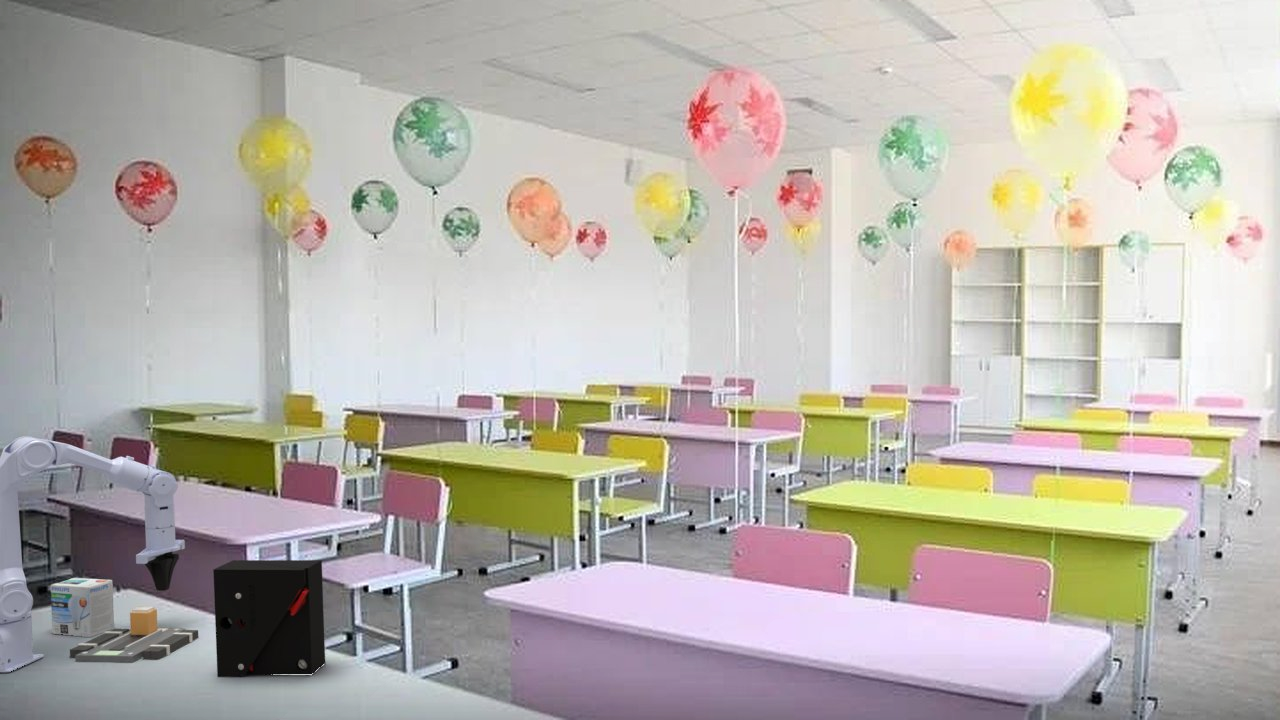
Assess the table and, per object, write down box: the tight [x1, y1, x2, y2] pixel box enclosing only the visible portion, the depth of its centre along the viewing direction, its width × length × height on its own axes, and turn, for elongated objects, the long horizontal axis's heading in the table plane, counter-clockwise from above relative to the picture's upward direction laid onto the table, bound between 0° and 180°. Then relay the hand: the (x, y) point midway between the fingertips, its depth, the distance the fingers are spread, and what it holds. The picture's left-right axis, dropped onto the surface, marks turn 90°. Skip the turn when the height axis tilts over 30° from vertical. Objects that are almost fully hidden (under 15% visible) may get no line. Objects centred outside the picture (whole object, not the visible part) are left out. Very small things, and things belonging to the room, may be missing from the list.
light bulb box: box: [50, 577, 115, 638], centre depth 221 cm, size 11×7×11 cm, turn 73°
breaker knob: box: [129, 606, 159, 635], centre depth 213 cm, size 3×4×5 cm
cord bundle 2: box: [142, 629, 199, 661], centre depth 208 cm, size 14×4×2 cm, turn 173°
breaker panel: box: [74, 627, 186, 664], centre depth 209 cm, size 18×12×2 cm, turn 173°
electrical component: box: [212, 559, 326, 678], centre depth 193 cm, size 18×10×20 cm, turn 84°
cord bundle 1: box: [69, 628, 130, 659], centre depth 210 cm, size 14×4×2 cm, turn 173°
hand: (162, 589), depth 219 cm, fingers closed
